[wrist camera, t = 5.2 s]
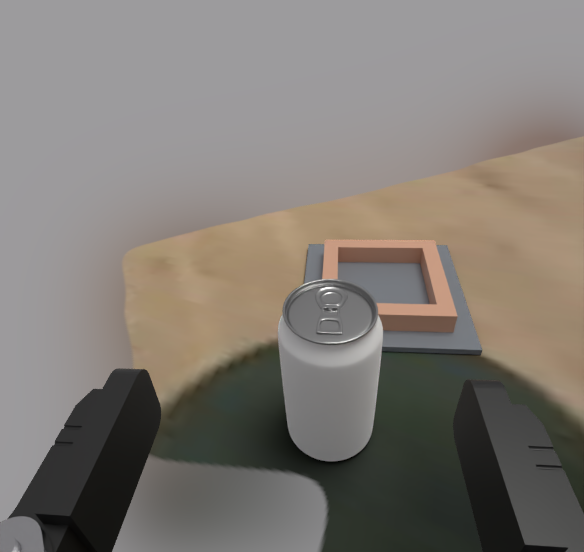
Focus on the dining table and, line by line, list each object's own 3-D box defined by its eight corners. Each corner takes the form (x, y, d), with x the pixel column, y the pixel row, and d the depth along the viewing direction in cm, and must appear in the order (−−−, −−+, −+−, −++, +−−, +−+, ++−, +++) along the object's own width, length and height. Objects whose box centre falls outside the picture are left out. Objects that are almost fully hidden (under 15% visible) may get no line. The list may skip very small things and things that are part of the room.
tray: (480, 354, 37) (487, 333, 35) (297, 348, 39) (296, 328, 37) (446, 249, 49) (449, 230, 48) (308, 248, 51) (308, 229, 49)
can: (371, 391, 34) (382, 275, 27) (374, 468, 29) (390, 352, 22) (292, 386, 35) (282, 273, 28) (282, 461, 30) (267, 347, 23)
